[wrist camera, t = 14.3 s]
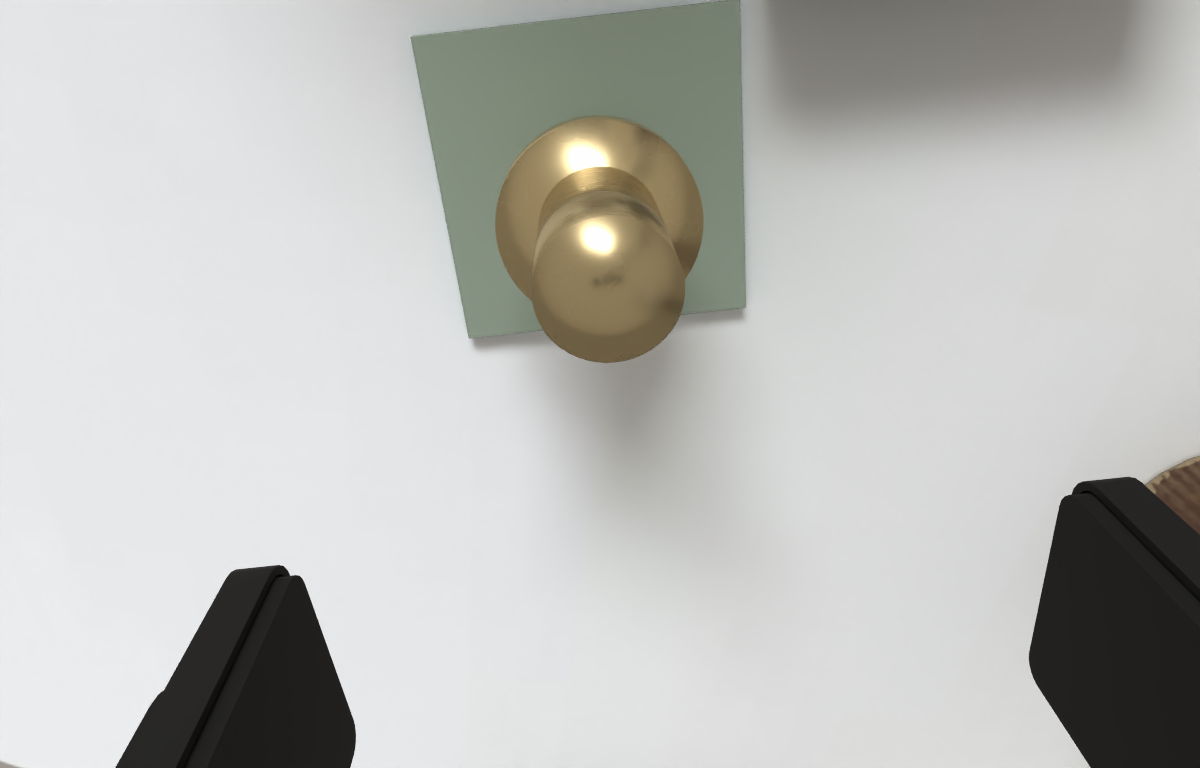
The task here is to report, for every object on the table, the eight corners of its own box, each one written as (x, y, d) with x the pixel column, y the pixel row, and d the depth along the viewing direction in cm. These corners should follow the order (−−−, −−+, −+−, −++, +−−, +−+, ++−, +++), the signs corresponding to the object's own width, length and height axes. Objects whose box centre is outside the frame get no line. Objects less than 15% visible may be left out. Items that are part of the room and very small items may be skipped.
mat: (736, -1, 30) (739, -1, 29) (743, 302, 35) (745, 307, 34) (413, 36, 30) (410, 37, 29) (470, 332, 35) (468, 338, 35)
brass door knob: (674, 84, 30) (736, 144, 19) (683, 257, 33) (741, 394, 22) (495, 103, 30) (454, 174, 19) (520, 274, 33) (498, 419, 22)
